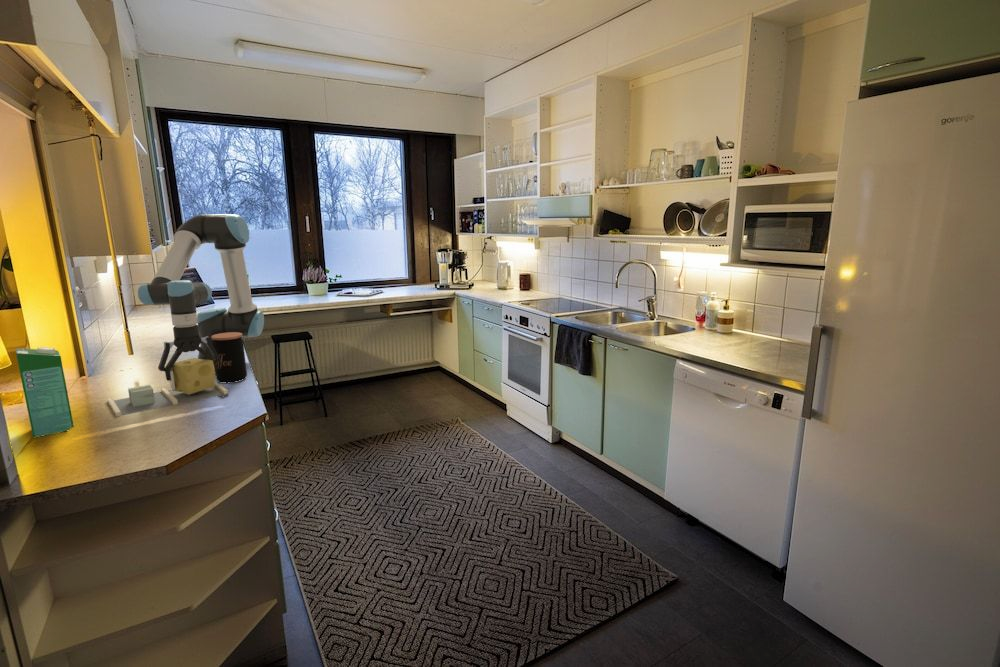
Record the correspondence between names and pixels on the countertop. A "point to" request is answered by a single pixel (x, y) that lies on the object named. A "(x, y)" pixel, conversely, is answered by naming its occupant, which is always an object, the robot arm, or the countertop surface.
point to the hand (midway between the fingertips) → (193, 385)
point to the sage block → (141, 395)
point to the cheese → (193, 375)
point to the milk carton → (44, 390)
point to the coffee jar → (230, 356)
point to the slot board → (165, 399)
